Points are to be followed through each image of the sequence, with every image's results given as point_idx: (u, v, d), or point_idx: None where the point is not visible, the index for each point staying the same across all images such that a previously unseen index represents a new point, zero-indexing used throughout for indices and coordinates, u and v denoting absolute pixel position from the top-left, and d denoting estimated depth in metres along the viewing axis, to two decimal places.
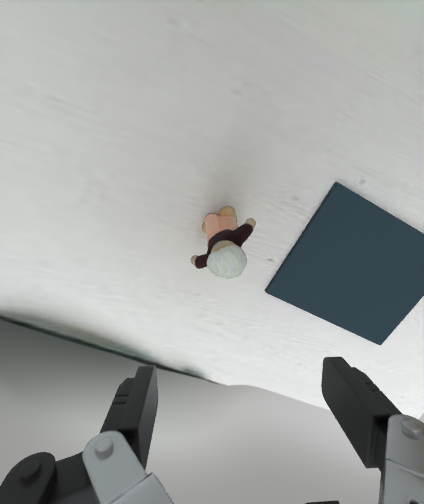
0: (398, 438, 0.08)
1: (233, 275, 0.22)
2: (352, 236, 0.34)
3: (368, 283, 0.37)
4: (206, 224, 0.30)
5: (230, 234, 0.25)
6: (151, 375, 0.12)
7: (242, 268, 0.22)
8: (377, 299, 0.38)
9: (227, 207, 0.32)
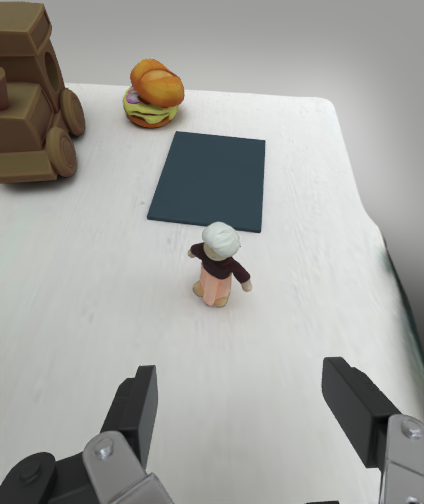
0: (398, 438, 0.08)
1: (228, 226, 0.23)
2: (185, 191, 0.41)
3: (218, 166, 0.44)
4: (212, 296, 0.29)
5: (201, 256, 0.26)
6: (151, 375, 0.12)
7: (219, 222, 0.24)
8: (228, 157, 0.46)
9: (194, 290, 0.33)
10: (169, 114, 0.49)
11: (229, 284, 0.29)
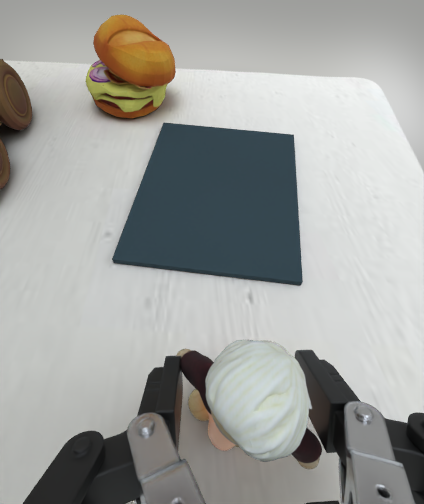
0: (355, 425, 0.09)
1: (282, 362, 0.08)
2: (176, 214, 0.26)
3: (227, 174, 0.29)
4: (226, 448, 0.14)
5: (205, 402, 0.11)
6: (179, 364, 0.12)
7: (254, 345, 0.08)
8: (241, 159, 0.30)
9: (190, 408, 0.18)
10: (154, 98, 0.34)
11: None
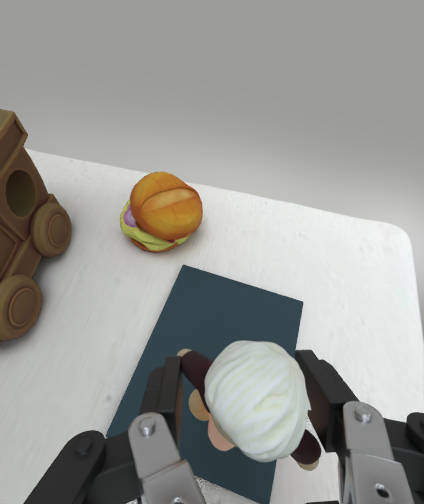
0: (354, 425, 0.09)
1: (281, 363, 0.08)
2: None
3: None
4: (226, 448, 0.14)
5: (204, 402, 0.11)
6: (179, 364, 0.12)
7: (253, 346, 0.08)
8: (245, 328, 0.32)
9: (191, 407, 0.18)
10: (178, 241, 0.36)
11: None
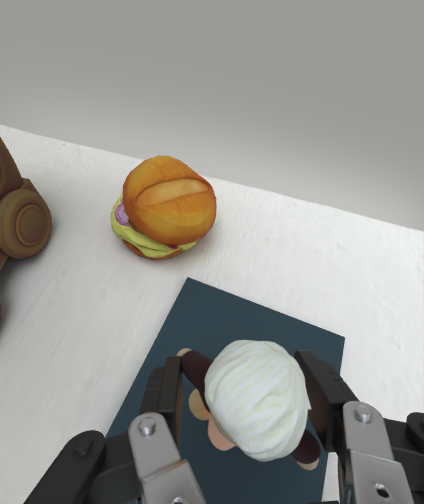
0: (354, 425, 0.09)
1: (282, 362, 0.08)
2: None
3: None
4: (226, 447, 0.14)
5: (204, 401, 0.11)
6: (179, 364, 0.12)
7: (253, 345, 0.08)
8: None
9: (190, 407, 0.18)
10: (182, 247, 0.28)
11: None
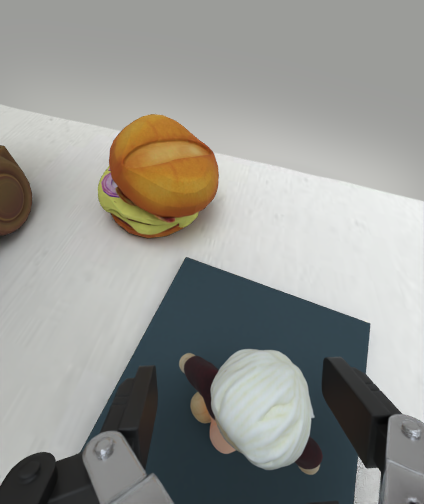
0: (398, 438, 0.08)
1: (286, 372, 0.08)
2: (151, 467, 0.17)
3: None
4: (228, 451, 0.14)
5: (208, 407, 0.11)
6: (151, 375, 0.12)
7: (259, 355, 0.09)
8: None
9: (192, 410, 0.18)
10: (180, 222, 0.25)
11: None
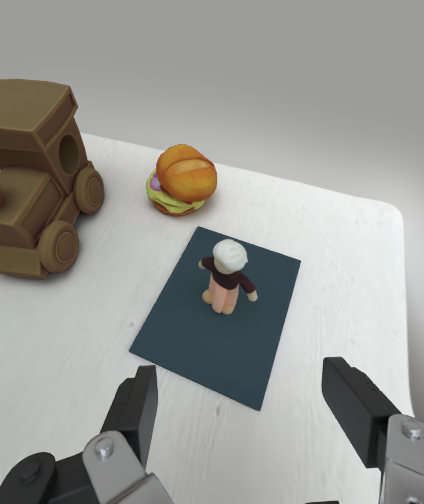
0: (398, 438, 0.08)
1: (237, 243, 0.26)
2: (183, 321, 0.34)
3: None
4: (220, 304, 0.32)
5: (212, 268, 0.28)
6: (151, 375, 0.12)
7: (228, 239, 0.26)
8: None
9: (203, 297, 0.35)
10: (194, 206, 0.42)
11: (236, 294, 0.31)
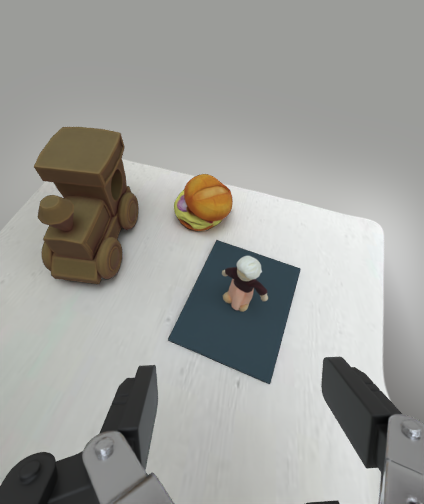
0: (398, 438, 0.08)
1: (254, 259, 0.35)
2: (209, 316, 0.43)
3: None
4: (239, 303, 0.41)
5: (234, 277, 0.38)
6: (151, 375, 0.12)
7: (248, 256, 0.36)
8: None
9: (223, 298, 0.45)
10: (214, 223, 0.52)
11: (251, 295, 0.41)
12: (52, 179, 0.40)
